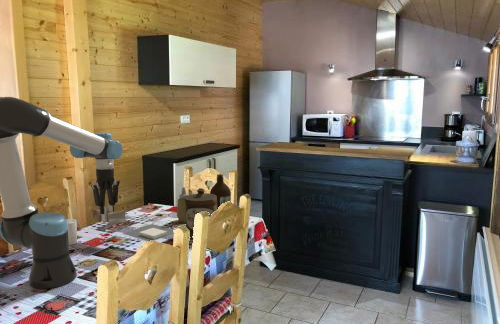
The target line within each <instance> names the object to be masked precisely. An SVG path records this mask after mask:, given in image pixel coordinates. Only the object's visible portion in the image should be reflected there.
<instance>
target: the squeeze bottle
mask: <svg viewBox="0 0 500 324" xmlns="http://www.w3.org/2000/svg"><path fill="white" fill-rule="evenodd" d="M186 190H187V189H186V187H185V186H184V187H183V186H182V188H181V193H179V195H178V196H179V198H178V199H177V204H176V205H177V207H176V217H177V220H178V222H179V223H180V224H181V223H182V224H186V203H185V197H186V196H189V195H190V194H189V193H187V191H186Z"/></svg>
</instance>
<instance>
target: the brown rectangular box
mask: <svg viewBox="0 0 500 324" xmlns="http://www.w3.org/2000/svg"><path fill="white" fill-rule="evenodd" d="M106 212H107V221H106V223H108V226H114V225H117V224H121V223H125V222H126V210H120V211H114V212H109V211H108V210H106ZM92 219H96V220H99V221H102V214H100V208H94V209H92Z"/></svg>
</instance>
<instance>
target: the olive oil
mask: <svg viewBox="0 0 500 324" xmlns="http://www.w3.org/2000/svg"><path fill="white" fill-rule="evenodd" d="M209 194H214V195H216V196H217V209H218V207H219V206H220V205H221V204H222V203H225V202H227V201H230V202H231V203H232V192H231V189H230V187H229V186H228V184H226V183H225V181H224V174H222V173H219V174H216V183H214V185H213V186H212V187H211V189H210V191H209Z"/></svg>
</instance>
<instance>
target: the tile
mask: <svg viewBox="0 0 500 324" xmlns="http://www.w3.org/2000/svg"><path fill="white" fill-rule="evenodd" d="M139 234H140V236H144V237H147V238H151V239H156V238H159V237H162V236H165V235H167V231H163V230H159V229H156V228H151V229H148V230H145V231H141V232H139ZM165 237H166V236H165ZM162 238H163V237H162ZM159 239H160V238H159ZM156 240H157V239H156Z"/></svg>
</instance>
